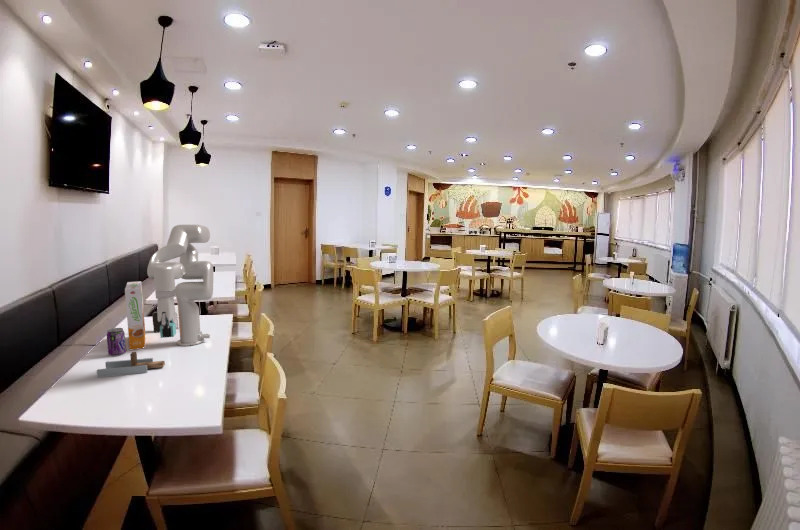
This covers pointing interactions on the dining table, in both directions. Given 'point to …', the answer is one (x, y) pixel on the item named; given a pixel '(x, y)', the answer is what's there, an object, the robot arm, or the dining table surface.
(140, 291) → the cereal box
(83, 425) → the dining table surface
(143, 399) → the dining table surface
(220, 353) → the dining table surface
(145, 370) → the grey shallow tray
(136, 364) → the plunger rod
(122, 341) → the beverage can
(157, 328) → the battery
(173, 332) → the block
